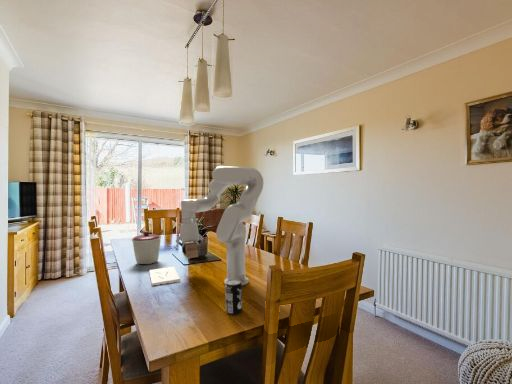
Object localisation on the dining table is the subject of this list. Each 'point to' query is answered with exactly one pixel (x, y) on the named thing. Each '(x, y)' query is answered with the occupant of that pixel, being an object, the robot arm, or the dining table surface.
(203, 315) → the dining table surface
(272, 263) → the dining table surface
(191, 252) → the block
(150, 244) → the canister
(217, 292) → the dining table surface
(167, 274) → the board
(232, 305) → the beverage can
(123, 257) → the dining table surface
